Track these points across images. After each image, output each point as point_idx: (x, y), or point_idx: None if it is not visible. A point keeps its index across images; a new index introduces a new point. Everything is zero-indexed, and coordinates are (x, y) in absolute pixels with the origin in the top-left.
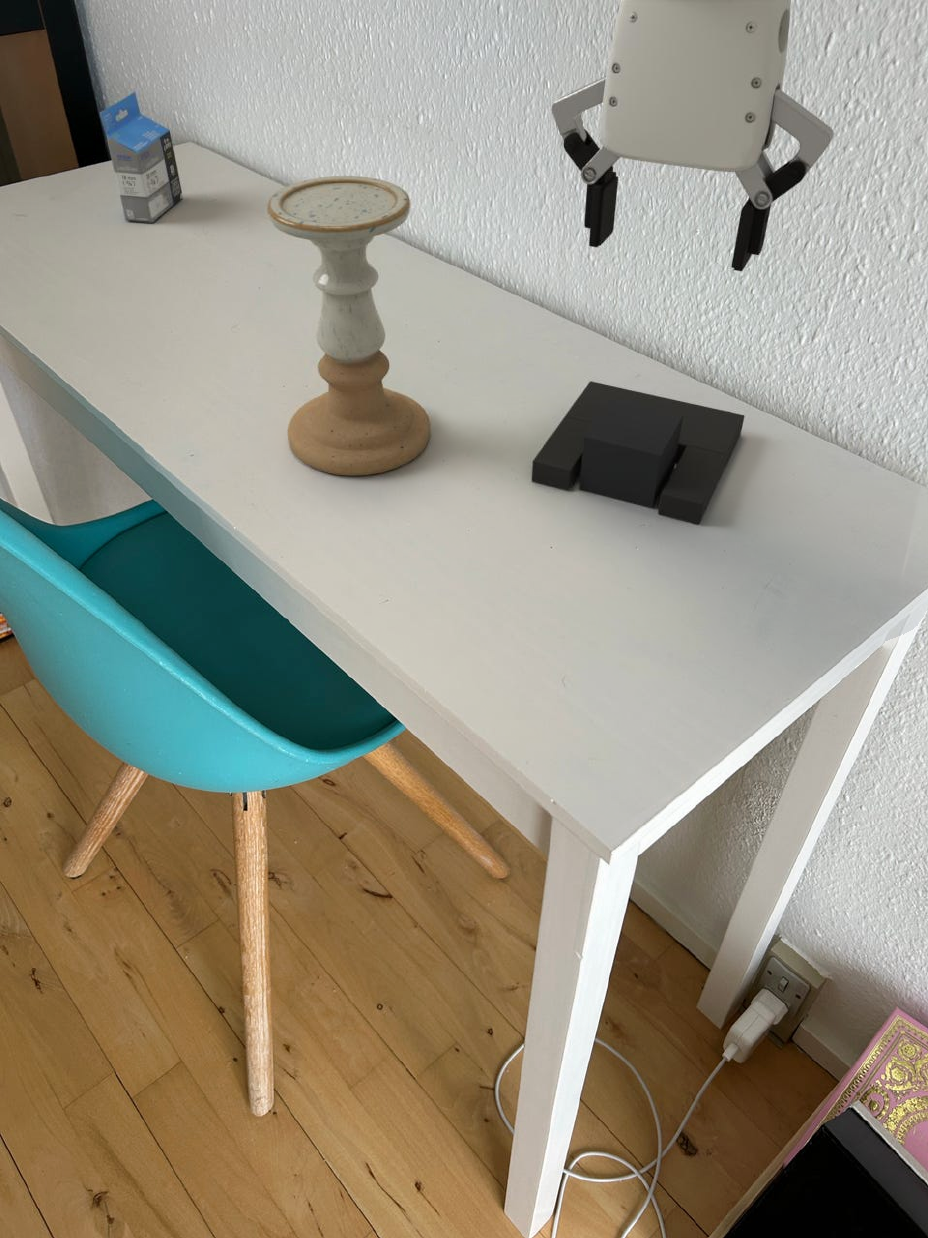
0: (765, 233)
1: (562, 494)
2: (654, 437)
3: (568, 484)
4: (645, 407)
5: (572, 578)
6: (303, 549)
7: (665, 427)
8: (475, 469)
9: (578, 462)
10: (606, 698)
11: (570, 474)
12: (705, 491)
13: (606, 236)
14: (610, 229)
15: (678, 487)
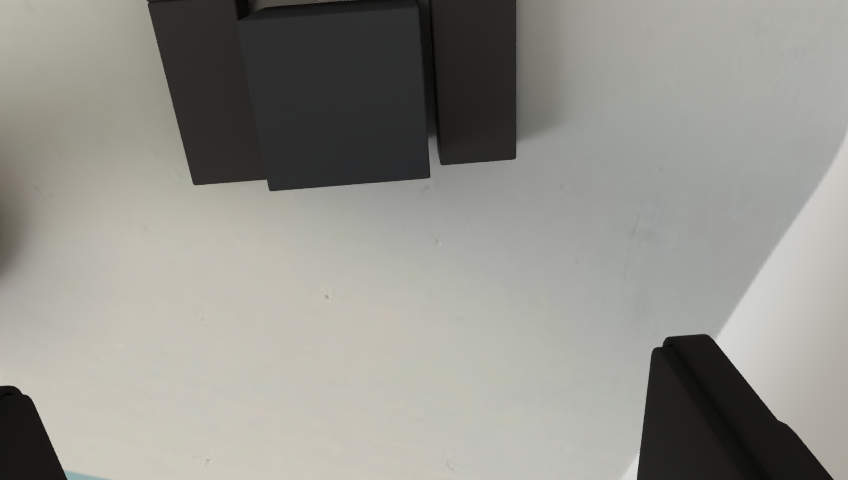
0: (814, 457)
1: None
2: (394, 126)
3: None
4: (327, 17)
5: (384, 335)
6: None
7: (401, 79)
8: (101, 184)
9: None
10: (499, 465)
11: None
12: (510, 122)
13: (54, 475)
14: (28, 444)
15: (462, 134)
